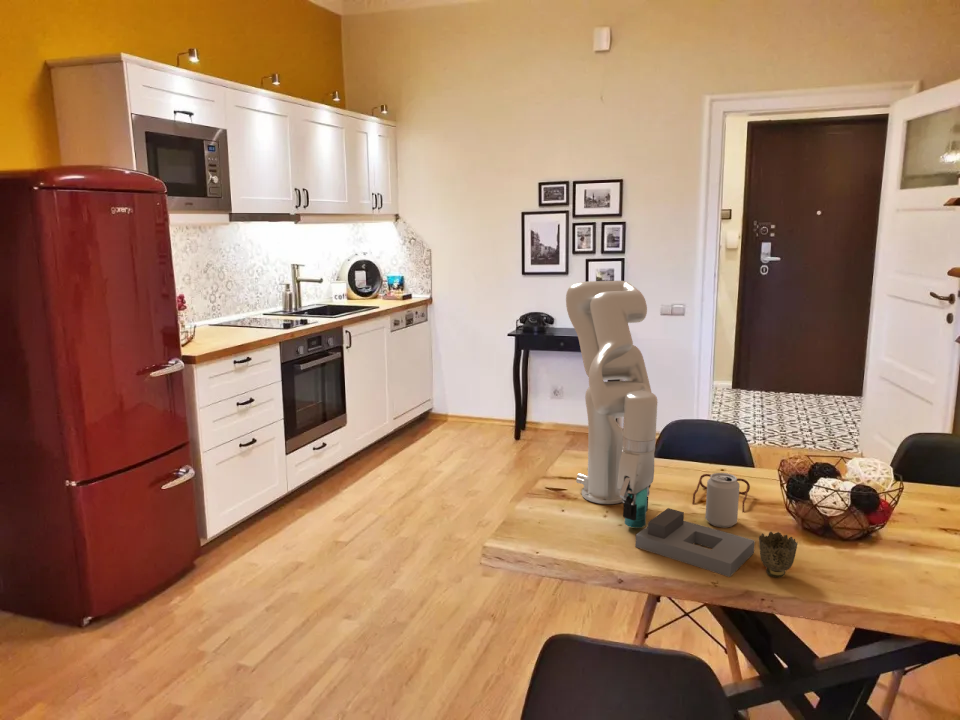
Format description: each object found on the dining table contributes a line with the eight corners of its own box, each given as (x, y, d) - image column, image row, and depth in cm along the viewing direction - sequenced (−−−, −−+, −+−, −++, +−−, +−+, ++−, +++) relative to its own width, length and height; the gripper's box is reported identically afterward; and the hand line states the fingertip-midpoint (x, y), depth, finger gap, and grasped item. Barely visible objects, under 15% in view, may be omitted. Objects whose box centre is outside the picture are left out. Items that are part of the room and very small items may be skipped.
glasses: (749, 496, 192) (750, 478, 191) (744, 514, 180) (745, 495, 179) (699, 488, 197) (700, 471, 196) (691, 505, 186) (692, 487, 185)
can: (739, 530, 170) (742, 483, 168) (706, 527, 172) (709, 481, 169) (734, 517, 177) (737, 471, 175) (703, 515, 179) (706, 470, 176)
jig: (635, 546, 162) (636, 522, 161) (663, 526, 173) (664, 503, 171) (729, 577, 148) (731, 550, 147) (753, 552, 159) (755, 527, 157)
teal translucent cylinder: (620, 523, 171) (622, 488, 169) (630, 516, 175) (632, 482, 173) (639, 529, 168) (641, 494, 166) (649, 522, 172) (651, 487, 170)
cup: (772, 585, 144) (774, 549, 143) (749, 569, 151) (751, 534, 150) (802, 580, 147) (805, 544, 145) (778, 564, 153) (781, 529, 152)
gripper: (641, 430, 175) (638, 498, 180) (606, 449, 163) (603, 522, 167) (669, 437, 171) (665, 507, 175) (635, 457, 158) (632, 532, 162)
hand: (635, 513), depth 171 cm, fingers closed on teal translucent cylinder, 4 cm apart
